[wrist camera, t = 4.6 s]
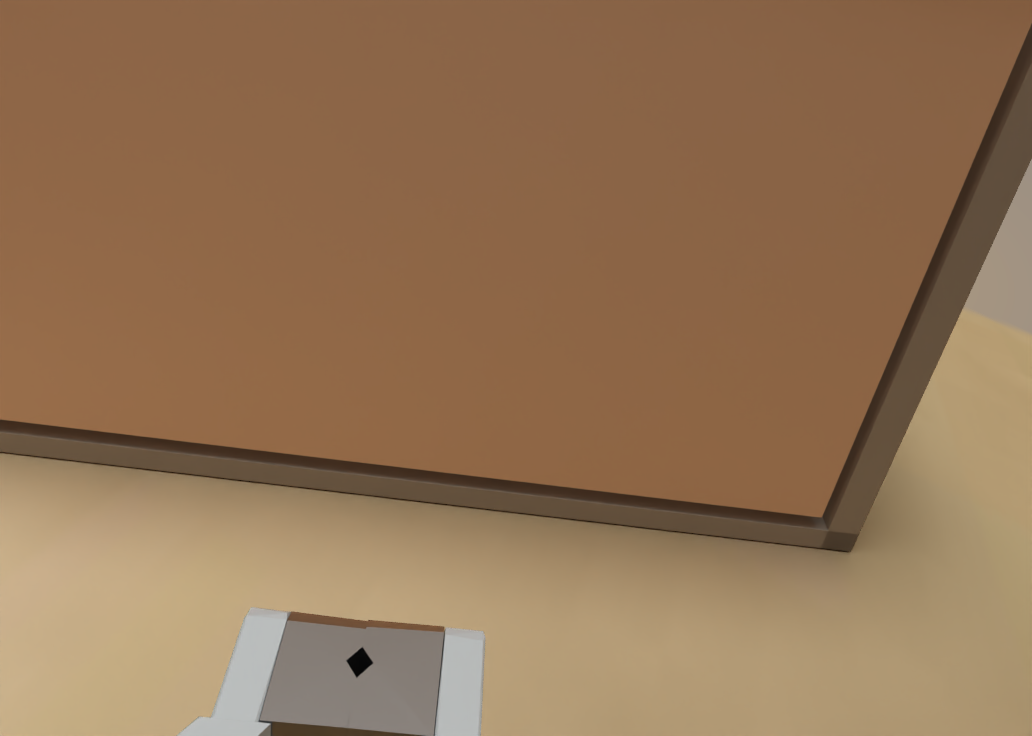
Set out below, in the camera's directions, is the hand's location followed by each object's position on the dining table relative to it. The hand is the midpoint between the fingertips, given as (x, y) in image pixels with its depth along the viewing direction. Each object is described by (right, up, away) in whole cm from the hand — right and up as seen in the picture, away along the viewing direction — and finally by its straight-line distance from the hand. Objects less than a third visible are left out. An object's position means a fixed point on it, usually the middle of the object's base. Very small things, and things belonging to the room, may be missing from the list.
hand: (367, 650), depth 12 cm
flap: (-1, +1, +11) cm, 11 cm away
